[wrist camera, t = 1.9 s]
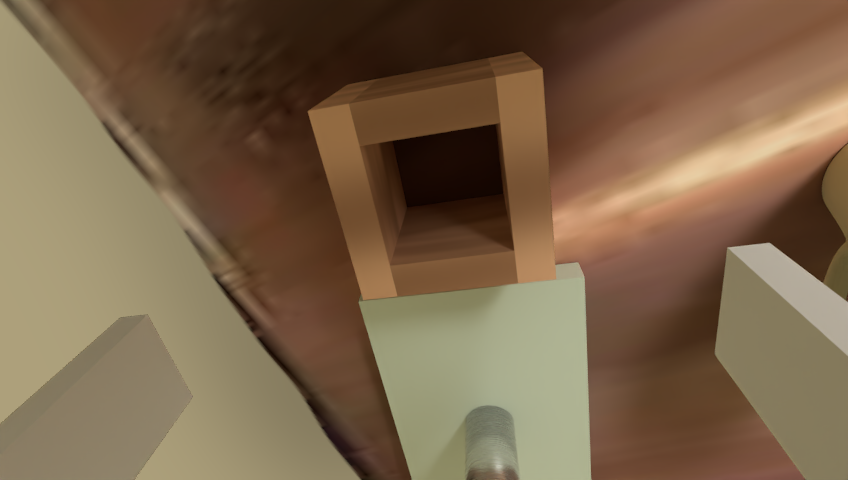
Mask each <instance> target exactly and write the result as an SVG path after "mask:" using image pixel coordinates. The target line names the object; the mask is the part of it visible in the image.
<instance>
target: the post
mask: <svg viewBox="0 0 848 480" xmlns="http://www.w3.org/2000/svg"><path fill="white" fill-rule="evenodd" d="M465 480H520V472H519V463H518V454H517V445H516V436H515V428H514V420H513V417H512V416H511V414H510V413H509V412H508V411H506V410H505V409H503V408H501V407H498V406H491V405H486V406H480V407H477V408H475V409H473V410H472V411H471V412H470V413H469V414H468V415H467V417H466V422H465Z"/></svg>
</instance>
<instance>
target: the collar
mask: <svg viewBox="0 0 848 480" xmlns="http://www.w3.org/2000/svg"><path fill="white" fill-rule="evenodd" d="M308 115H309V118H310V121H311V125H312V128H313V131H314V135H315V138H316V142H317V145H318V148H319V152H320V155H321V159H322V162H323V165H324V169H325V172H326V175H327V179H328V182H329V186H330V189H331V192H332V196H333V199H334V203H335V206H336V209H337V213H338V216H339V219H340V223H341V226H342V230H343V233H344V236H345V240H346V243H347V247H348V250H349V253H350V257H351V260H352V263H353V267H354V270H355V274H356V277H357V280H358V284H359V287H360V291H361V294H362V297H363V300H370V299H379V298H388V297H397V296H406V295H416V294H425V293H434V292H443V291H452V290H462V289H471V288H480V287H489V286H498V285H508V284H517V283H526V282H535V281H544V280H554V279H556V267H555V251H554V236H553V220H552V205H551V190H550V174H549V159H548V144H547V128H546V113H545V98H544V82H543V68H541V67H540V66H539V65H538V64H537V63H535V62H534V61H533V60H532V59H531V58H529V57H528V56H527V55H526V54H525V53H523V52H517V53H512V54H507V55H501V56H496V57H491V58H485V59H480V60H475V61H470V62H464V63H459V64H454V65H448V66H443V67H438V68H432V69H427V70H422V71H417V72H411V73H406V74H401V75H395V76H390V77H385V78H379V79H374V80H369V81H364V82H358V83H353V84H348V85H346V86H345V87H343V88H342V89H340V90H339V91H337V92H336V93H334V94H333V95H331V96H330V97H328V98H327V99H325V100H324V101H322V102H321V103H319V104H318V105H316V106H315V107H313V108H312V109H310V110H309V111H308ZM491 124H496V133H497V142H498V150H499V159H500V168H501V177H502V185H503V194H499V195H492V196H485V197H478V198H471V199H464V200H457V201H449V202H442V203H435V204H428V205H421V206H414V207H407V204H406V200H405V195H404V191H403V186H402V182H401V177H400V172H399V168H398V163H397V159H396V154H395V150H394V145H393V141H394V140H400V139H406V138H412V137H418V136H424V135H430V134H437V133H443V132H449V131H455V130H461V129H467V128H473V127H479V126H485V125H491Z"/></svg>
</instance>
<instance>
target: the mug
mask: <svg viewBox="0 0 848 480" xmlns="http://www.w3.org/2000/svg"><path fill="white" fill-rule="evenodd" d="M822 197H823V200H824V203H825V205H826V206H827V208H828V210H829V211H830V213H831V214H832V216H833V217H834V219H835V220H836V222H837V223H838V225H839V227H840V228H841V230H842V232H843V234H844V236H845V238H846V242H845V243H844V244H843V245H842V246H841V247H840V248H839V249H838V251H837V252H836V254H835V256H834V257H833V259H832V261H831V264H830V266H829V268H828V270H827V273H826V276H825V278H824V281H823V284H824V285H826V286H827V287H828V288H830V289H831V290H832V291H834V292H835V293H836V294H838V295H839V296H840V297H841V298H843V299H844V300H845V301H846V297H847V293H848V144H847V145H846V146H844V147H843V148H842V150H841V151H840V152H839V153H838V154H837V155H836V156H835V157H834V159H833V160H832V161H831V163H830V165H829V166H828V168H827V170H826V172H825V175H824V178H823V182H822Z"/></svg>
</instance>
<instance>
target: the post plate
mask: <svg viewBox="0 0 848 480" xmlns="http://www.w3.org/2000/svg"><path fill="white" fill-rule="evenodd" d="M555 267H556V279H554V280H544V281H535V282H526V283H517V284H508V285H498V286H489V287H480V288H471V289H462V290H452V291H443V292H434V293H425V294H416V295H406V296H397V297H388V298H379V299H370V300H363V297H362V294H361V296H360V298H359V301H358V302H359V305H360V309H361V312H362V315H363V319H364V322H365V325H366V329H367V332H368V335H369V339H370V342H371V345H372V349H373V352H374V355H375V359H376V362H377V365H378V368H379V372H380V375H381V378H382V382H383V385H384V388H385V392H386V395H387V398H388V402H389V405H390V408H391V412H392V415H393V418H394V421H395V425H396V428H397V431H398V435H399V438H400V441H401V445H402V448H403V451H404V455H405V458H406V461H407V465H408V468H409V471H410V475H411V478H412V480H465V422H466V417H467V415H468V414H469V413H470V412H471V411H472V410H473V409H475V408H477V407H480V406H486V405H491V406H498V407H501V408H503V409H505V410H506V411H508V412H509V413H510V414H511V416H512V417H513V420H514V428H515V436H516V445H517V454H518V463H519V472H520V480H591V462H590V431H589V400H588V369H587V338H586V307H585V277H584V275H583V272H582V270H581V268H580V266H579V263H578V262H576V263H567V264H558V265H555Z"/></svg>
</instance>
